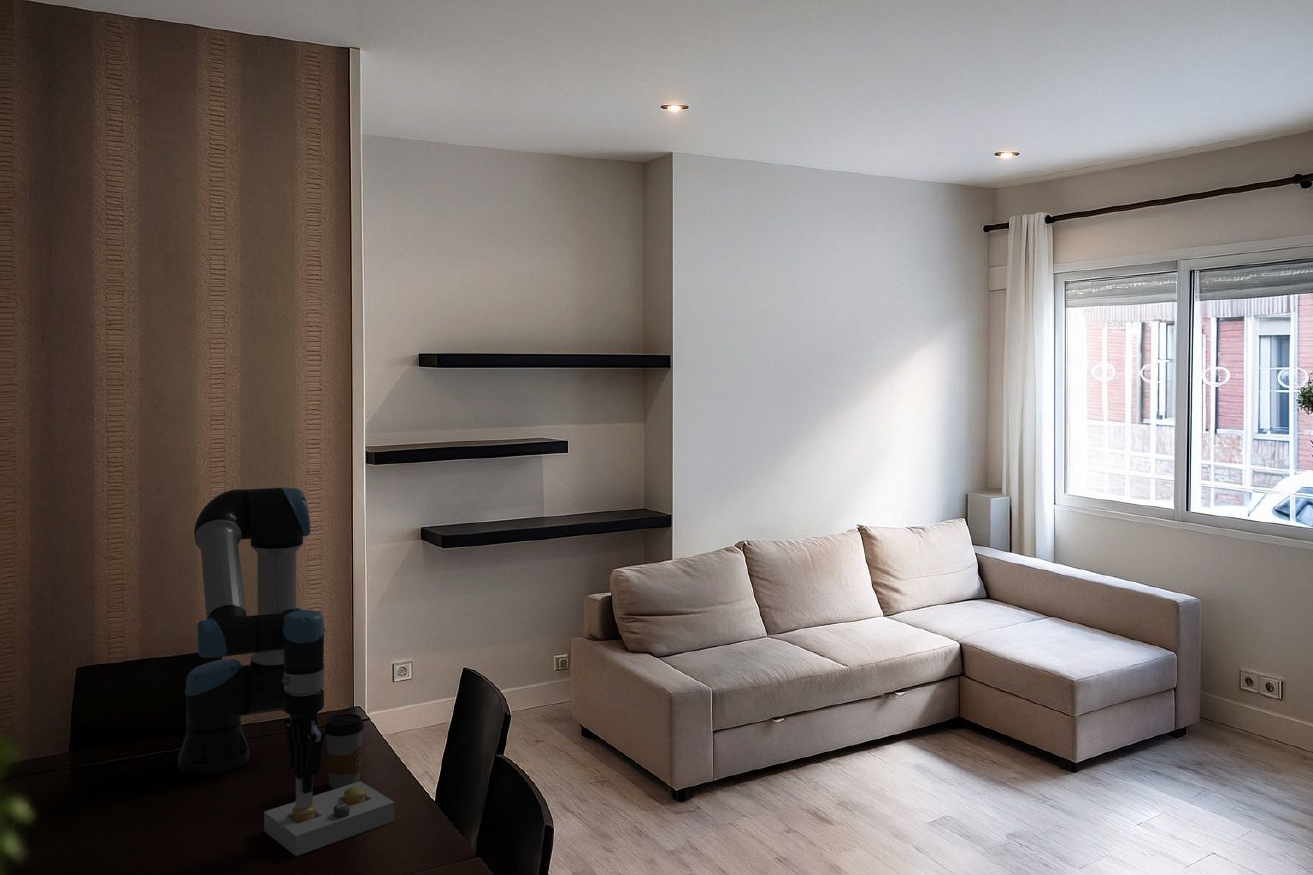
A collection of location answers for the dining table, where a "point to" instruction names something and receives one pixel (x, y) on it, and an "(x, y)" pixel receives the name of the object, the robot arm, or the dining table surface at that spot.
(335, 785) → the coffee cup
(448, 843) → the dining table surface
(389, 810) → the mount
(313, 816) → the knob
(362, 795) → the knob
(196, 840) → the dining table surface
